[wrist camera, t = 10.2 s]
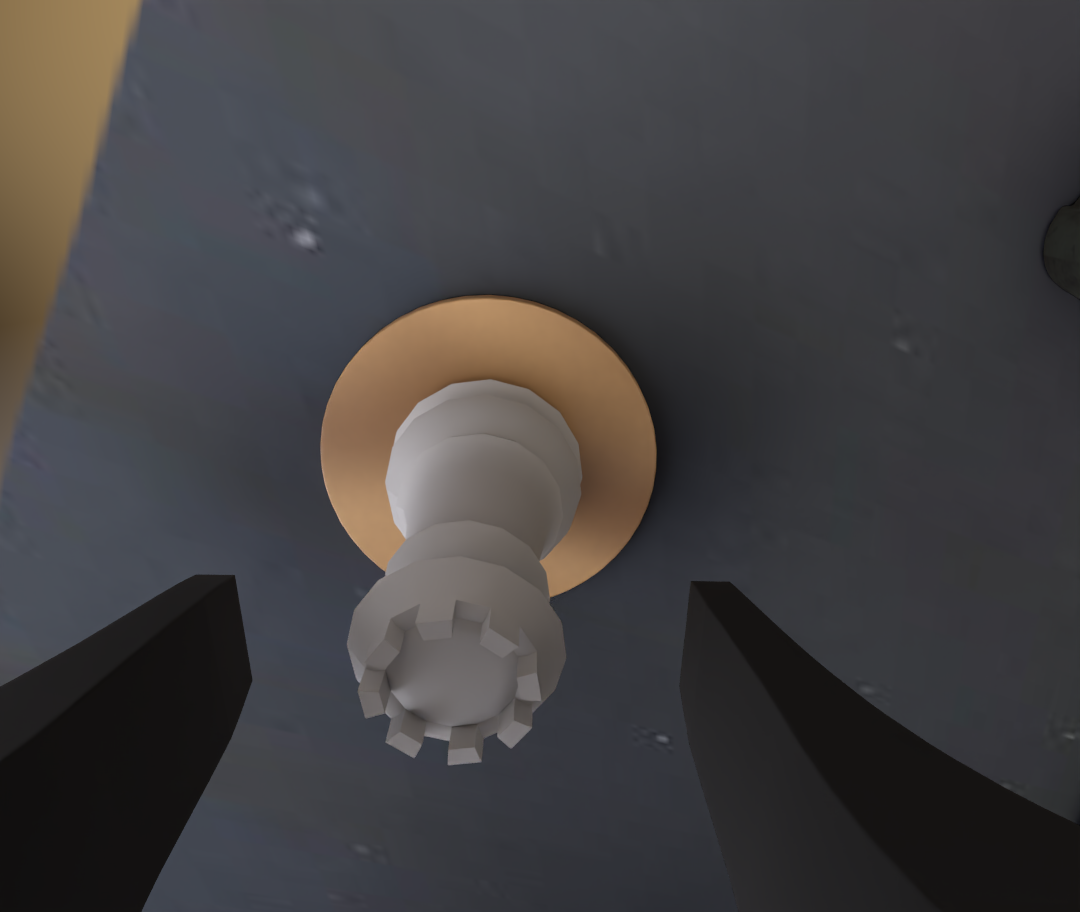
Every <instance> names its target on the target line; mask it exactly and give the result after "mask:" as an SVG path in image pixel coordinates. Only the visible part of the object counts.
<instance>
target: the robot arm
mask: <svg viewBox="0 0 1080 912" xmlns="http://www.w3.org/2000/svg"><path fill="white" fill-rule="evenodd" d="M251 683H252V675H251V669H250V663H249V657H248V651H247V645H246V639H245V633H244V627H243V622H242V616H241V610H240V604H239V598H238V592H237V586H236V580H235V575H194V576H192V577H190V578H188V579H186V580H184V581H182V582H181V583H179V584H177V585H175V586H173V587H172V588H170V589H168V590H166V591H165V592H163V593H161V594H160V595H158V596H156V597H155V598H153V599H151V600H150V601H148V602H146V603H145V604H143V605H141V606H140V607H138V608H136V609H135V610H133V611H131V612H130V613H128V614H126V615H125V616H123V617H121V618H120V619H118V620H116V621H115V622H113V623H111V624H110V625H108V626H106V627H105V628H103V629H102V630H100V631H98V632H97V633H95V634H93V635H92V636H90V637H88V638H87V639H85V640H83V641H82V642H80V643H78V644H76V645H75V646H73V647H71V648H69V649H68V650H66V651H64V652H62V653H60V654H59V655H57V656H55V657H53V658H51V659H50V660H48V661H46V662H44V663H42V664H41V665H39V666H37V667H35V668H33V669H32V670H30V671H28V672H26V673H24V674H23V675H21V676H19V677H17V678H15V679H14V680H12V681H10V682H8V683H6V684H4V685H3V686H1V687H0V912H141V911H142V909H143V907H144V905H145V902H146V900H147V898H148V896H149V894H150V892H151V890H152V888H153V886H154V884H155V882H156V880H157V878H158V876H159V874H160V872H161V870H162V868H163V866H164V864H165V862H166V860H167V859H168V857H169V855H170V853H171V851H172V849H173V847H174V846H175V844H176V842H177V840H178V838H179V836H180V834H181V832H182V831H183V829H184V827H185V825H186V823H187V821H188V819H189V817H190V816H191V814H192V812H193V810H194V808H195V806H196V804H197V803H198V801H199V799H200V797H201V795H202V793H203V791H204V789H205V788H206V786H207V784H208V782H209V780H210V778H211V776H212V774H213V772H214V770H215V769H216V767H217V765H218V763H219V761H220V759H221V757H222V755H223V753H224V751H225V749H226V747H227V745H228V743H229V741H230V739H231V737H232V735H233V732H234V729H235V727H236V724H237V722H238V719H239V717H240V714H241V711H242V708H243V706H244V703H245V700H246V697H247V694H248V691H249V688H250V686H251ZM679 686H680V692H681V699H682V705H683V711H684V717H685V723H686V729H687V734H688V740H689V745H690V748H691V752H692V755H693V759H694V762H695V765H696V769H697V772H698V776H699V779H700V782H701V786H702V789H703V792H704V796H705V799H706V802H707V805H708V809H709V812H710V815H711V819H712V822H713V825H714V828H715V832H716V835H717V838H718V842H719V845H720V848H721V852H722V855H723V858H724V861H725V865H726V868H727V871H728V875H729V878H730V881H731V885H732V889H733V893H734V897H735V901H736V904H737V908H738V912H1080V825H1078V824H1075V823H1073V822H1071V821H1069V820H1067V819H1065V818H1063V817H1061V816H1059V815H1057V814H1055V813H1053V812H1051V811H1049V810H1047V809H1044V808H1042V807H1041V806H1039V805H1037V804H1035V803H1033V802H1031V801H1029V800H1027V799H1025V798H1023V797H1021V796H1019V795H1018V794H1016V793H1014V792H1012V791H1010V790H1008V789H1006V788H1004V787H1002V786H1001V785H999V784H997V783H995V782H994V781H992V780H990V779H988V778H987V777H985V776H983V775H981V774H980V773H978V772H976V771H974V770H973V769H971V768H969V767H967V766H966V765H964V764H962V763H960V762H959V761H957V760H955V759H953V758H952V757H950V756H949V755H947V754H945V753H944V752H942V751H940V750H939V749H937V748H936V747H934V746H932V745H931V744H929V743H928V742H926V741H924V740H923V739H921V738H920V737H918V736H917V735H916V734H914V733H913V732H911V731H910V730H908V729H907V728H905V727H904V726H902V725H901V724H899V723H898V722H896V721H895V720H893V719H892V718H890V717H889V716H887V715H886V714H884V713H883V712H882V711H880V710H879V709H877V708H876V707H875V706H873V705H872V704H870V703H869V702H868V701H866V700H865V699H864V698H862V697H861V696H860V695H859V694H857V693H856V692H855V691H854V690H852V689H851V688H850V687H848V686H847V685H846V684H845V683H843V682H842V681H841V680H839V679H838V678H837V677H836V676H834V675H833V674H832V673H831V672H829V671H828V670H827V669H826V668H825V667H823V666H822V665H821V664H820V663H819V662H817V661H816V660H815V659H814V658H813V657H812V656H810V655H809V654H808V653H807V652H806V651H805V650H803V649H802V648H801V647H800V646H799V645H798V644H797V643H796V642H794V641H793V640H792V639H791V638H790V637H789V636H788V635H787V634H786V633H784V632H783V631H782V630H781V629H780V628H779V627H778V626H777V625H776V624H775V623H774V622H772V621H771V620H770V619H769V618H768V617H767V616H766V615H765V614H764V613H763V612H762V611H761V610H760V609H759V608H758V607H756V606H755V605H754V604H753V603H752V602H751V601H750V600H749V599H748V598H747V597H746V596H745V595H744V594H743V593H742V592H740V591H739V590H738V589H737V588H736V587H735V586H734V585H733V584H731V583H730V582H704V581H691V585H690V594H689V603H688V613H687V622H686V631H685V640H684V649H683V658H682V667H681V676H680V685H679Z"/></svg>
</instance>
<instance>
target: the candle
mask: <svg viewBox="0 0 1080 912" xmlns="http://www.w3.org/2000/svg"><path fill="white" fill-rule="evenodd" d="M1043 256H1044V261H1045V267H1046V270H1047V271H1048V273H1049V275H1050V277H1051V279H1052V280H1053V281H1054V282H1055V283H1056V284H1058V285H1059V286H1060V287H1061V288H1062V289H1064V290H1066V291H1067V292H1069V293H1070V294H1072V295H1073V296H1075V297H1077V298H1078V299H1080V197H1079V198H1078V200H1077V201H1076V202H1075V204H1074V205H1072V206H1064V207H1062V208H1061V209H1060V210H1059V212H1058V213H1057V215H1056V216H1055V218H1054V220H1053V221H1052V223H1051V225H1050V227H1049V230H1048V232H1047V235H1046V238H1045V243H1044V253H1043Z"/></svg>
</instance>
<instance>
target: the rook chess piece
mask: <svg viewBox="0 0 1080 912" xmlns="http://www.w3.org/2000/svg"><path fill="white" fill-rule="evenodd" d="M581 481H582V470H581V461H580V453H579V444H578V442H577V440H576V438H575V437H574V435H573V433H572V432H571V430H570V428H569V427H568V425H567V423H566V422H565V420H564V418H563V417H562V415H561V413H560V412H559V411H558V410H556V409H555V408H554V407H552V406H551V405H550V404H548V403H547V402H546V401H544V400H543V399H541V398H540V397H539V396H537V395H536V394H535V393H533V392H532V391H531V390H529V389H526V388H522V387H519V386H515V385H511V384H507V383H503V382H499V381H496V380H492V379H488V380H480V381H472V382H463V383H455V384H450V385H449V386H447V387H445V388H443V389H442V390H440V391H438V392H436V393H434V394H433V395H431V396H429V397H427V398H425V399H424V400H422V401H420V402H418V404H417V405H416V406H415V408H414V409H413V410H412V412H411V413H410V414H409V416H408V417H407V418H406V420H405V421H404V422H403V424H402V425H401V426H400V428H399V429H398V430H397V432H396V436H395V441H394V446H393V447H392V451H391V456H390V461H389V466H388V470H387V475H386V480H385V484H386V489H387V494H388V498H389V502H390V507H391V511H392V515H393V520H394V523H395V524H396V526H397V527H398V529H399V530H400V531H401V533H402V535H403V536H404V537H405V539H406V540H405V542H404V543H403V544H402V545H401V547H400V548H399V549H398V550H397V552H396V553H395V554H394V555H393V557H392V558H391V559H390V560H389V562H388V565H387V569H386V574H385V577H384V578H382V579H380V580H378V581H377V582H376V584H375V585H374V586H373V587H372V589H371V590H370V591H369V592H368V594H367V595H366V596H365V597H364V598H363V600H362V601H361V602H360V603H359V605H358V606H357V607H356V608H355V610H354V613H353V618H352V623H351V627H350V632H349V637H348V642H347V647H348V651H349V654H350V658H351V661H352V665H353V669H354V672H355V676H356V679H357V680H358V682H359V683H360V685H359V688H358V693H359V697H360V701H361V704H362V708H363V711H364V715H365V719H366V718H370V717H373V716H377V715H381V714H384V713H386V714H387V715H388V716H389V717H390V718H391V722H390V726H389V730H388V734H387V738H386V743H388V744H390V745H391V746H393V747H395V748H397V749H399V750H400V751H402V752H404V753H406V754H407V755H409V756H411V757H413V758H415V756H416V754H417V753H418V751H419V749H420V747H421V746H422V743H423V738H424V736H428V737H432V738H437V739H442V740H447V741H450V742H449V748H448V765H455V764H465V763H476V762H482V752H483V741H484V738H485V737H488V736H490V735H492V734H494V733H497V732H498V736H497V737H498V738H499V739H500V740H501V741H502V742H504V743H505V744H506V745H507V746H508V747H509V748H512V747H513V746H514V745H515V744H516V743H517V742H518V741H519V740H520V739H521V738H522V737H523V736H524V735H525V734H526V733H527V732H528V731H529V730H530V729H531V728H532V713H533V712H534V711H535V710H536V709H537V708H538V707H539V706H540V705H541V704H542V703H543V702H544V701H545V700H546V699H547V698H548V697H549V696H550V695H551V694H552V693H553V692H554V691H555V689H556V686H557V683H558V680H559V677H560V674H561V672H562V669H563V666H564V663H565V660H566V658H567V657H566V650H565V643H564V635H563V628H562V622H561V621H560V619H559V618H558V616H557V615H556V613H555V612H554V610H553V609H552V607H551V606H550V604H549V602H550V595H549V588H548V581H547V574H546V571H545V569H544V568H543V566H542V565H541V563H540V560H542V559H544V558H545V557H546V556H547V555H548V554H549V553H550V552H551V551H552V550H553V548H554V547H555V546H556V545H557V544H558V543H559V542H560V541H561V540H562V538H563V537H564V536H565V535H566V534H567V532H568V531H569V529H570V527H571V524H572V521H573V518H574V515H575V512H576V509H577V506H578V503H579V500H580V497H581V487H580V484H581Z"/></svg>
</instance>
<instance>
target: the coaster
mask: <svg viewBox="0 0 1080 912" xmlns="http://www.w3.org/2000/svg"><path fill="white" fill-rule="evenodd" d="M488 379H492V380H496V381H499V382H503V383H507V384H511V385H515V386H519V387H522V388H526V389H529V390H531V391H532V392H533V393H535V394H536V395H537V396H539V397H540V398H541V399H543V400H544V401H546V402H547V403H548V404H550V405H551V406H552V407H554V408H555V409H556V410H558V411H559V412H560V413H561V415H562V417H563V418H564V420H565V422H566V423H567V425H568V427H569V428H570V430H571V432H572V433H573V435H574V437H575V438H576V440H577V442H578V444H579V453H580V461H581V470H582V481H581V484H580V487H581V497H580V500H579V503H578V506H577V509H576V512H575V515H574V518H573V521H572V524H571V527H570V529H569V531H568V532H567V534H566V535H565V536H564V537H563V538H562V540H561V541H560V542H559V543H558V544H557V545H556V546H555V547H554V548H553V550H552V551H551V552H550V553H549V554H548V555H547V556H546V557H545V558H544V559H542V560H540V563H541V565H542V566H543V568H544V569H545V571H546V574H547V581H548V588H549V595H550V597H553V596H555V595H558V594H560V593H563V592H565V591H568V590H570V589H572V588H573V587H575V586H577V585H579V584H581V583H583V582H585V581H586V580H588V579H589V578H590V577H592V576H593V575H595V574H596V573H597V572H599V571H600V570H602V569H603V568H604V567H605V566H606V565H607V564H608V563H609V562H610V561H611V560H612V559H614V558H615V557H616V556H617V554H618V553H619V552H620V551H621V550H622V548H623V547H624V546H625V545H626V544H627V543H628V541H629V540H630V538H631V537H632V535H633V534H634V532H635V530H636V529H637V527H638V526H639V524H640V522H641V520H642V518H643V515H644V513H645V511H646V509H647V507H648V504H649V500H650V497H651V494H652V490H653V487H654V480H655V474H656V460H657V447H656V439H655V431H654V426H653V422H652V419H651V415H650V411H649V408H648V405H647V403H646V401H645V398H644V396H643V394H642V391H641V389H640V387H639V385H638V383H637V381H636V380H635V378H634V376H633V375H632V373H631V372H630V370H629V368H628V367H627V365H626V364H625V363H624V362H623V360H622V359H621V358H620V357H619V356H618V354H617V353H616V352H615V351H614V349H613V348H612V347H610V346H609V345H608V344H607V343H606V342H605V341H604V340H603V339H602V338H601V337H600V336H598V335H597V334H596V333H595V332H593V331H592V330H591V329H589V328H588V327H586V326H585V325H583V324H582V323H581V322H579V321H578V320H576V319H574V318H572V317H570V316H568V315H566V314H564V313H562V312H560V311H558V310H556V309H553V308H551V307H548V306H545V305H542V304H539V303H537V302H533V301H529V300H524V299H520V298H515V297H508V296H496V295H475V296H462V297H456V298H451V299H446V300H441V301H438V302H435V303H431V304H428V305H425V306H422V307H419V308H417V309H415V310H413V311H411V312H409V313H407V314H405V315H403V316H401V317H399V318H397V319H396V320H394V321H393V322H391V323H390V324H388V325H387V326H385V327H384V328H382V329H381V330H380V331H379V332H377V333H376V334H375V335H374V336H373V337H372V338H371V339H370V340H369V341H368V342H366V343H365V344H364V345H363V346H362V348H361V349H360V350H359V351H358V352H357V354H356V355H355V356H354V357H353V358H352V360H351V361H350V362H349V363H348V364H347V366H346V368H345V369H344V371H343V372H342V374H341V376H340V377H339V379H338V381H337V382H336V384H335V387H334V389H333V391H332V394H331V396H330V398H329V401H328V404H327V407H326V411H325V415H324V419H323V423H322V433H321V442H320V446H321V465H322V471H323V476H324V482H325V486H326V489H327V492H328V495H329V498H330V501H331V503H332V506H333V508H334V510H335V512H336V514H337V516H338V518H339V520H340V522H341V523H342V525H343V526H344V528H345V529H346V531H347V532H348V534H349V536H350V537H351V538H352V540H353V541H354V542H355V543H356V544H357V545H358V547H359V548H360V549H361V550H362V551H363V553H364V554H366V555H367V556H368V557H369V558H370V559H371V560H372V561H373V562H374V563H375V564H376V565H377V566H379V567H380V568H381V569H383V570H384V571H385V572H386V569H387V565H388V562H389V560H390V559H391V558H392V557H393V555H394V554H395V553H396V552H397V550H398V549H399V548H400V547H401V545H402V544H403V543H404V542H405V540H406V539H405V537H404V536H403V535H402V533H401V531H400V530H399V529H398V527H397V526H396V524H395V523H394V520H393V515H392V511H391V507H390V502H389V498H388V494H387V489H386V484H385V480H386V475H387V470H388V466H389V461H390V456H391V451H392V447H393V446H394V441H395V436H396V432H397V430H398V429H399V428H400V426H401V425H402V424H403V422H404V421H405V420H406V418H407V417H408V416H409V414H410V413H411V412H412V410H413V409H414V408H415V406H416V405H417V404H418V402H420V401H422V400H424V399H425V398H427V397H429V396H431V395H433V394H434V393H436V392H438V391H440V390H442V389H443V388H445V387H447V386H449V385H450V384H455V383H463V382H472V381H480V380H488Z"/></svg>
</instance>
